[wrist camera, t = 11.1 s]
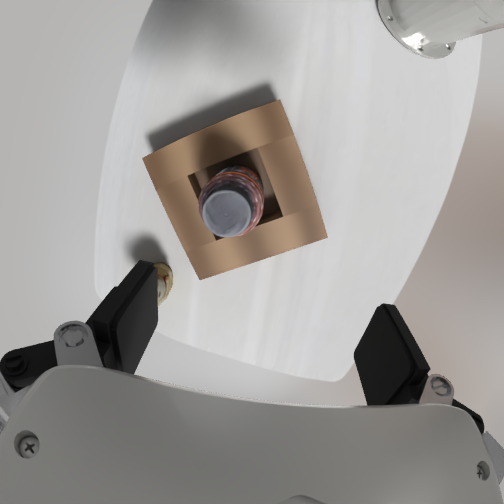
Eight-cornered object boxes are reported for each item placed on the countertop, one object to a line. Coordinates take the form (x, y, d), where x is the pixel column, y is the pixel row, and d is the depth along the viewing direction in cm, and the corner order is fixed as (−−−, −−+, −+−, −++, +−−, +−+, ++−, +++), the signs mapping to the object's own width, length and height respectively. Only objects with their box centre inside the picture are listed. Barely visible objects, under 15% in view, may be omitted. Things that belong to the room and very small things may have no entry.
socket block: (277, 103, 29) (280, 99, 25) (321, 226, 35) (327, 237, 31) (154, 155, 32) (142, 158, 28) (205, 265, 37) (199, 280, 34)
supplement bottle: (274, 183, 32) (280, 208, 22) (244, 222, 34) (236, 263, 24) (232, 153, 31) (217, 163, 20) (203, 194, 33) (176, 223, 22)
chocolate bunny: (188, 285, 39) (169, 330, 30) (150, 306, 41) (126, 348, 32) (166, 254, 37) (138, 293, 28) (128, 278, 39) (97, 317, 30)
